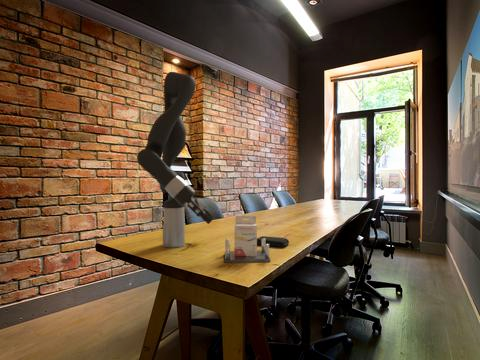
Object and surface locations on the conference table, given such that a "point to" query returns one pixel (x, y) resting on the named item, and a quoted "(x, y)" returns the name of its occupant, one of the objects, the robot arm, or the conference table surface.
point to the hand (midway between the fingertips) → (211, 220)
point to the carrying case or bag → (273, 241)
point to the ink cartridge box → (245, 236)
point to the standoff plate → (261, 256)
